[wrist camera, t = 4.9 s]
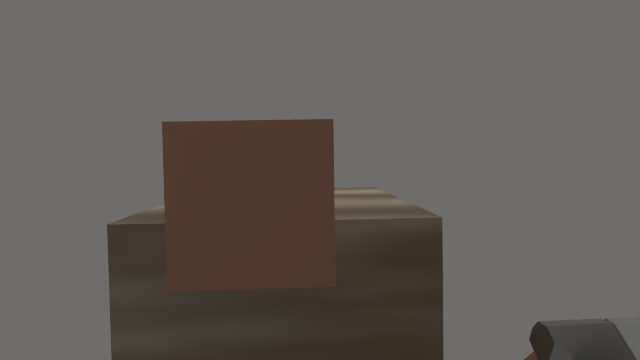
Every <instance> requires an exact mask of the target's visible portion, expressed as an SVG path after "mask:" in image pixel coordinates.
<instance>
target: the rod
mask: <svg viewBox="0 0 640 360" xmlns="http://www.w3.org/2000/svg"><path fill="white" fill-rule="evenodd" d="M162 133H163V168H164V202H165V237H166V271H167V291H205V290H244V289H283V288H323V287H336V263H335V201H334V143H333V142H334V140H333V119H315V120H313V119H312V120H247V121H185V122H183V121H182V122H162Z"/></svg>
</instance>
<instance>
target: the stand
mask: <svg viewBox="0 0 640 360" xmlns="http://www.w3.org/2000/svg"><path fill="white" fill-rule="evenodd" d="M334 201H335V263H336V287H323V288H283V289H244V290H205V291H167V271H166V237H165V203H164V204H161V205H159V206H156V207H153V208H150V209H148V210H145V211H142V212H140V213H137V214H134V215H132V216H129V217H126V218H124V219H121V220H118V221H116V222H113V223H110V224H108V225H107V233H108V263H109V291H110V292H109V293H110V323H111V351H112V352H111V353H112V360H443V263H442V261H443V255H442V217H440V216H438V215H436V214H433V213H431V212H429V211H426V210H424V209H422V208H420V207H418V206H415V205H413V204H411V203H409V202H406V201H404V200H402V199H399V198H397V197H395V196H393V195H391V194H388V193H386V192H384V191H381V190H379V189H377V188H374V187H372V188H371V187H370V188H334Z"/></svg>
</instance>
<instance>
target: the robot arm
mask: <svg viewBox="0 0 640 360" xmlns="http://www.w3.org/2000/svg"><path fill="white" fill-rule="evenodd" d="M529 340H530V342H531V345H532V347H533V349H534V352H533V353H532V354H530V355H529V356H528V357H527V358H525V359H524V360H640V317H636V318H614V319H613V318H612V319H604V320H603V319H582V320H561V321H541V322H537V323H536V325H535V326H534V327H533V328H532V332H531V335H530V339H529Z"/></svg>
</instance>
